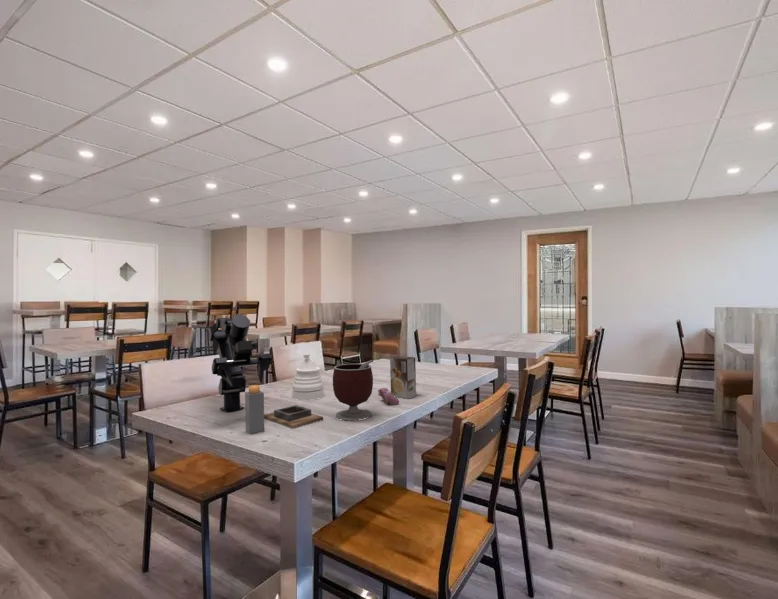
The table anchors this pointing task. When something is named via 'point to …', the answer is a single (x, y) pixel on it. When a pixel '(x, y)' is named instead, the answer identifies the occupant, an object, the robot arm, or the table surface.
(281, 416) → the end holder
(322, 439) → the table surface
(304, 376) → the honey pot
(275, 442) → the table surface
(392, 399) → the pink oblong lump
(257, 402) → the connector plug
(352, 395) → the mate gourd
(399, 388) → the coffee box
